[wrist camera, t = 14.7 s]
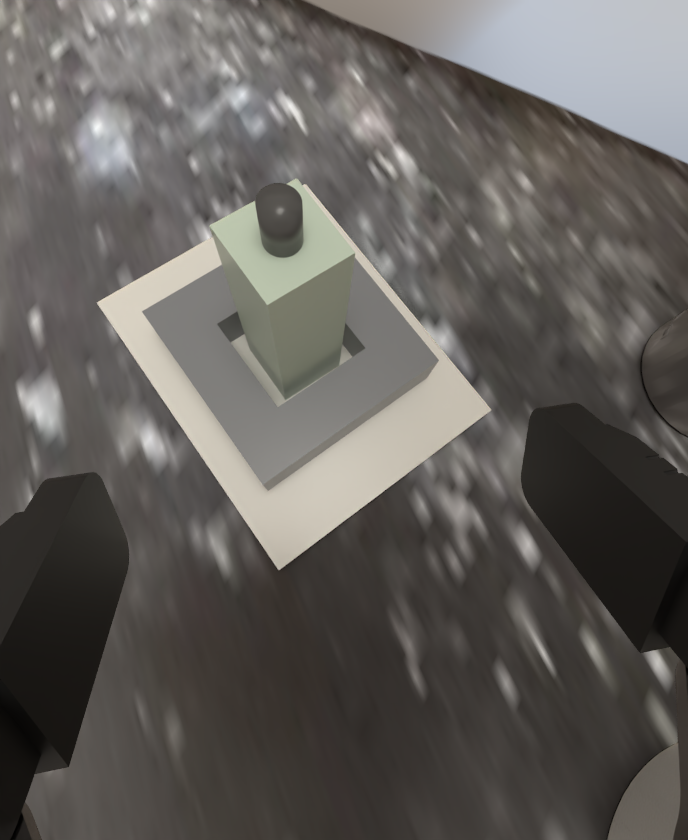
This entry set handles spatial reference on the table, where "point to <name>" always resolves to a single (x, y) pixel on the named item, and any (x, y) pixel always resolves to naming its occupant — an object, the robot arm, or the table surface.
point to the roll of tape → (650, 801)
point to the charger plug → (287, 283)
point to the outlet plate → (332, 469)
